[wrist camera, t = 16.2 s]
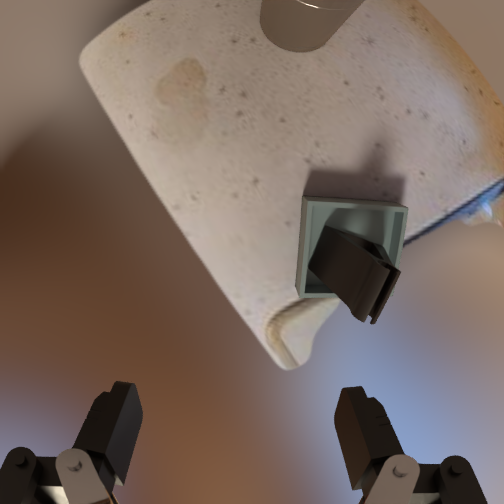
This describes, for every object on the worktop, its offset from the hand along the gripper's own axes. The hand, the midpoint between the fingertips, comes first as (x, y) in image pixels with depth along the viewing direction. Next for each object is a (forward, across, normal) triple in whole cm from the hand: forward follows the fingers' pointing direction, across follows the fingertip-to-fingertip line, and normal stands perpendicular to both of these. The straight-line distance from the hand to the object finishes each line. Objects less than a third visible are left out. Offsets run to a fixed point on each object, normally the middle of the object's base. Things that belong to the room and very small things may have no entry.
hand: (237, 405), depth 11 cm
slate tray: (+30, -14, +3) cm, 33 cm away
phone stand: (+29, -14, +4) cm, 33 cm away
